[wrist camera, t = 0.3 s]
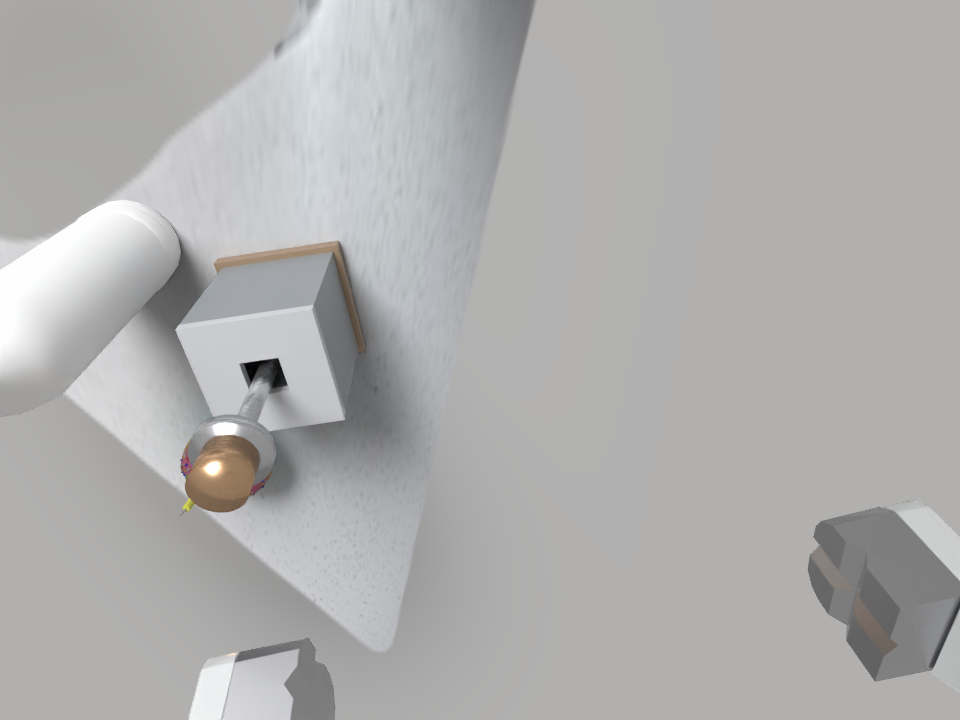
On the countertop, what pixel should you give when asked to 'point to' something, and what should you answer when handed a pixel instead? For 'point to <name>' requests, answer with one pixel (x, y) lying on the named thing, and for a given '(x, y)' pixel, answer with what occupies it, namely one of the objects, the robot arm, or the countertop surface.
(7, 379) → the bottle
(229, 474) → the plunger
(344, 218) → the countertop surface
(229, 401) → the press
